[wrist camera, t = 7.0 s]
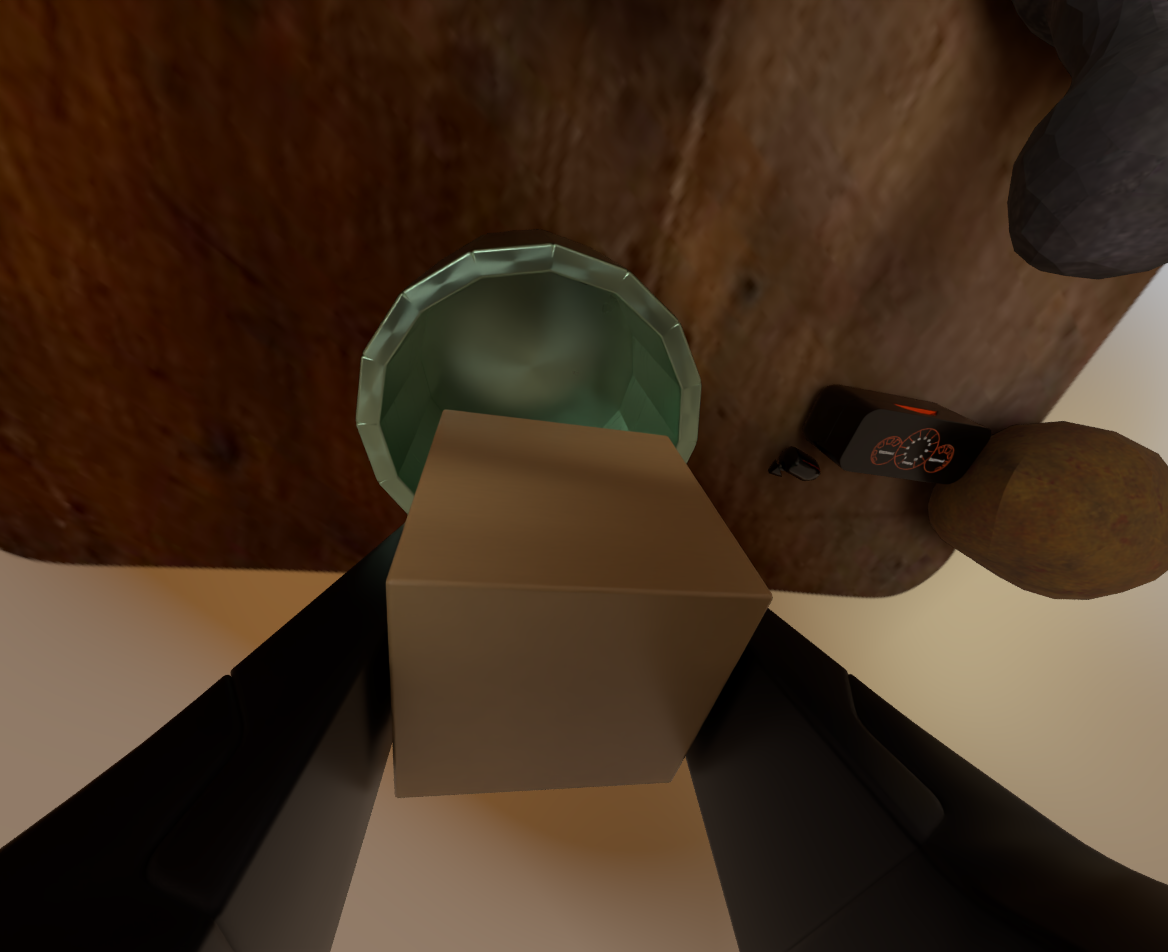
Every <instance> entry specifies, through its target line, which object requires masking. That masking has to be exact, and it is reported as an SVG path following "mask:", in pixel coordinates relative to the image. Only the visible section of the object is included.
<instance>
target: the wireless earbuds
mask: <svg viewBox="0 0 1168 952" xmlns="http://www.w3.org/2000/svg"><path fill="white" fill-rule="evenodd" d="M803 435H804V437H805V438H806V440H808V441H809V442H810V443H811V444H812V445H814V446H815V447H816V448H817V449H819V450H820V451H821V452H822V453H823V454H825V455H826V456H827V457H828V458H830V459H831V460H832V461H833V462H835V463H836V464H837V465H838V466H840V467H841V468H842V469H843V470H846V471H851V472H858V473H865V474H873V475H880V476H887V477H895V478H902V479H909V480H916V481H924V482H931V483H938V484H951V483H954V482H956V481H958V480H959V479H960V478H962V477H963V475H964V474H965V473H966V472H967V470H968V469H969V468H970V466H971V465H972V464H973V462H974V461H975V460H976V458H977V457H978V455H979V454H980V453H981V451H982V450H983V449H984V447H985V446H986V445H987V443H988V442H989V440H990V437H991V431H990V429H989V428H987V427H985V426H983V425H980V424H978V423H976V422H974V421H972V420H970V419H968V418H966V417H964V416H962V415H959V414H957V413H955V412H953V411H951V410H949V409H947V408H945V407H943V406H941V405H938V404H936V403H933V402H929V401H923V400H918V399H913V398H907V397H902V396H897V395H891V394H886V393H881V392H875V391H870V390H865V389H859V388H854V387H849V386H843V385H829V386H827V387H825V388H824V389H823V390H822V391H821V392H820V394H819V396H818V398H817V400H816V402H815V404H814V406H813V408H812V410H811V412H810V414H809V416H808V418H807V420H806V422H805V424H804V426H803ZM781 470H782V471H786V472H788V473H789V474H791V475H793V476H795V477H796V478H798V479H800V480H802V481H810V480H814V479H816V478H817V477H818V476H819V475H820V468H819V465H818V463H817V461H816V460H815V459H814V458H813V457H811V456H810V455H808V454H806V453H804V452H803V451H801V450H799V449H798V448H796V447H793V446H790V447H788V448H786V449H785V450H784V451H783V452H782V453H781V455H780V457H779V464H777V461H776V459H775V460H774V461H773V463H772V464H771V466H770V467H769V469H768V471H769V473H770V474H773V475H776V476H780V477H782V475H781V472H780V471H781Z"/></svg>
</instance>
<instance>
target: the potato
mask: <svg viewBox="0 0 1168 952" xmlns="http://www.w3.org/2000/svg"><path fill="white" fill-rule="evenodd" d="M928 512H929V521H930V524H931V525H932V527H933V528H934V529H935V531H936V532H937V533H938V535H939V536H940V538H941V539H942V540H944V541H945V542H947V543H948V544H949V545H951V546H952V547H954V548H955V549H957V550H958V551H960V552H961V553H963V554H964V555H966V556H967V557H969V558H971V559H972V560H974V561H975V562H976V563H978V564H980V565H981V566H983V567H984V568H986V569H987V570H989V571H991V572H992V573H994V574H995V575H997V576H999V577H1000V578H1002V579H1004V580H1006V581H1008V582H1010V583H1012V584H1014V585H1015V586H1017V587H1019V588H1021V589H1023V590H1026V591H1029V592H1033V593H1036V594H1039V595H1043V596H1046V597H1049V598H1053V599H1078V600H1079V599H1080V600H1089V599H1094V598H1098V597H1103V596H1108V595H1112V594H1117V593H1121V592H1124V591H1127V590H1130V589H1133V588H1135V587H1138V586H1141V585H1143V584H1146V583H1148V582H1151V581H1154V580H1156V579H1157V578H1159V577H1160V576H1161V575H1162V574H1164V573H1165V572H1166V571H1167V570H1168V466H1167V464H1166V463H1165V462H1164V461H1163V459H1162V458H1161V457H1160V455H1159V454H1158V453H1156V452H1154V451H1152V450H1150V449H1148V448H1146V447H1144V446H1142V445H1140V444H1138V443H1136V442H1134V441H1132V440H1130V439H1129V438H1126V437H1125V436H1123V435H1120V434H1119V433H1117V432H1114V431H1109V430H1104V429H1100V428H1095V427H1089V426H1085V425H1080V424H1075V423H1070V422H1066V421H1058V422H1047V423H1035V424H1023V425H1012V426H1010V427H1008V428H1006V429H1004V430H1002V431H1000V432H998V433H996V434H994V435H992V436H991V437H990V440H989V442H988V443H987V445H986V446H985V447H984V449H983V450H982V451H981V453H980V454H979V455H978V457H977V458H976V460H975V461H974V462H973V464H972V465H971V466H970V468H969V469H968V470H967V472H966V473H965V474H964V475H963V477H962V478H960V479H959V480H958V481H956V482H954V483H951V484H938V483H937V484H936V485H935V486H934V488H933V491H932V494H931V497H930V500H929V503H928Z"/></svg>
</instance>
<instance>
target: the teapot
mask: <svg viewBox="0 0 1168 952" xmlns="http://www.w3.org/2000/svg"><path fill="white" fill-rule="evenodd" d="M1012 2H1013V4H1014V7H1015V9H1016V12H1017V14H1018V15H1019V16H1020V18H1021V19H1022V20H1023V22H1024V23H1025V24H1026V26H1027V27H1028V28H1029V30H1030V31H1031V32H1032V33H1033V34H1035V35H1036V36H1038V37H1039V38H1041V39H1042V40H1044V41H1045V42H1047V43H1048V44H1050V45H1051V46H1053V47H1055V48H1056V51H1057V54H1058V57H1059V59H1060V61H1061V62H1062V64H1063V65H1064V66H1065V68H1066V69H1067V71H1068V72H1069V74H1070V75H1071V77H1072V83H1071V86H1070V88H1069V90H1068V92H1067V93H1066V95H1065V96H1064V98H1063V99H1061V100H1060V101H1059V102H1058V103H1057V104H1056V105H1055V107H1054V108H1053V109H1052V110H1051V111H1050V112H1049V113H1048V114H1047V115H1046V116H1045V117H1044V119H1043V120H1042V121H1041V122H1040V123H1039V124H1038V125H1037V126H1036V127H1035V129H1034V130H1033V132H1032V134H1031V135H1030V137H1029V139H1028V141H1027V142H1026V144H1025V146H1024V147H1023V149H1022V151H1021V153H1020V154H1019V156H1018V158H1017V160H1016V161H1015V163H1014V165H1013V171H1012V178H1011V184H1010V190H1009V196H1008V202H1007V203H1008V218H1009V233H1010V237H1011V240H1012V244H1013V248H1014V251H1015V252H1016V253H1017V254H1018V255H1019V256H1020V257H1022V258H1023V259H1024V260H1025V261H1026V262H1027V263H1028V264H1029V265H1031V266H1033V267H1035V268H1036V269H1038V270H1040V271H1044V272H1049V273H1054V274H1059V275H1064V276H1072V277H1081V278H1090V279H1104V278H1110V277H1116V276H1121V275H1127V274H1133V273H1139V272H1145V271H1149V270H1152V269H1154V268H1156V267H1159V266H1161V265H1163V264H1166V263H1168V0H1012Z"/></svg>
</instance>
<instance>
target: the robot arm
mask: <svg viewBox="0 0 1168 952" xmlns="http://www.w3.org/2000/svg"><path fill="white" fill-rule="evenodd" d="M404 525H405V523H404V524H403V525H402V526H401V527H399V528H398V529H397V530H396V531H395V532H394V533H392V534H391V535H390V536H389V537H388V538H386V539H385V540H384V541H383V542H382V543H381V544H379V545H378V546H377V547H376V548H375V549H373V550H372V551H371V552H370V553H369V554H368V555H366V556H365V557H364V558H363V559H362V560H360V561H359V562H358V563H357V564H356V565H355V566H353V567H352V568H351V569H350V570H349V571H348V572H346V573H345V574H344V575H343V576H342V577H340V578H339V579H338V580H337V581H336V582H335V583H333V584H332V585H331V586H330V587H329V588H327V589H326V590H325V591H324V592H323V593H322V594H320V595H319V596H318V597H317V598H316V599H314V600H313V601H312V602H311V603H310V604H309V605H308V606H306V607H305V608H304V609H303V610H301V611H300V612H299V613H298V614H297V615H296V616H294V617H293V618H292V619H291V620H290V621H288V622H287V623H286V624H285V625H284V626H283V627H281V628H280V629H279V630H278V631H277V632H275V633H274V634H273V635H272V636H271V637H270V638H268V639H267V640H266V641H265V642H264V643H262V644H261V645H260V646H259V647H258V648H257V649H255V650H254V651H253V652H252V653H251V654H250V655H248V656H247V657H246V658H245V659H244V660H242V661H241V662H240V663H239V664H238V665H236V666H235V667H234V668H233V669H232V670H231V676H230V675H225V676H223V677H222V678H221V679H220V680H218V681H217V682H216V683H215V684H214V685H212V686H211V687H210V688H209V689H208V690H207V691H205V692H204V693H203V694H202V695H201V696H200V697H198V698H197V699H196V700H195V701H193V702H192V703H191V704H190V705H189V706H187V707H186V708H185V709H184V710H183V711H181V712H180V713H179V714H177V716H175V717H174V718H173V719H171V720H170V721H169V722H168V723H167V724H165V725H164V726H163V727H161V728H160V729H159V730H158V731H157V732H155V733H154V734H153V735H152V736H151V737H149V738H148V739H147V740H146V741H144V742H143V743H142V744H140V745H139V746H138V747H136V748H135V749H134V750H132V751H131V752H130V753H128V754H127V755H126V756H125V757H123V758H122V759H121V760H119V761H118V762H117V763H115V764H114V765H113V766H111V767H110V768H109V769H107V770H106V771H105V772H103V773H102V774H101V775H99V776H98V777H97V778H96V779H94V780H93V781H92V782H90V783H89V784H88V785H86V786H85V787H84V788H82V789H81V790H80V791H78V792H77V793H76V794H74V795H73V796H72V797H70V798H69V799H68V800H66V801H65V802H63V803H62V804H61V805H59V806H58V807H57V808H55V809H54V810H52V811H51V812H50V813H48V814H47V815H46V816H44V817H43V818H42V819H40V820H39V821H38V822H36V823H35V824H34V825H32V826H31V827H29V828H28V829H27V830H25V831H24V832H22V833H21V834H20V835H18V836H17V837H16V838H14V839H13V840H12V841H10V842H9V843H8V844H6V845H5V846H3V847H2V848H1V849H0V952H330V950H331V947H332V944H333V940H334V937H335V933H336V930H337V927H338V923H339V920H340V917H341V913H342V910H343V906H344V903H345V900H346V896H347V893H348V890H349V886H350V883H351V880H352V876H353V873H354V869H355V866H356V863H357V859H358V856H359V852H360V849H361V846H362V843H363V839H364V836H365V833H366V829H367V826H368V822H369V819H370V816H371V812H372V809H373V805H374V802H375V799H376V796H377V792H378V788H379V785H380V782H381V779H382V775H383V772H384V769H385V765H386V762H387V758H388V755H389V752H390V748H391V745H392V718H391V695H390V671H389V648H388V624H387V601H386V579H387V576H388V573H389V570H390V567H391V564H392V561H393V558H394V555H395V552H396V549H397V546H398V543H399V540H400V537H401V534H402V531H403V528H404ZM686 760H687V763H688V767H689V771H690V774H691V778H692V781H693V785H694V789H695V792H696V796H697V800H698V803H699V807H700V810H701V814H702V818H703V821H704V825H705V828H706V832H707V836H708V839H709V843H710V846H711V850H712V854H713V857H714V861H715V865H716V868H717V872H718V875H719V879H720V883H721V886H722V890H723V893H724V897H725V901H726V904H727V908H728V911H729V915H730V919H731V922H732V926H733V930H734V933H735V937H736V940H737V944H738V948H739V951H740V952H1168V885H1167V884H1164V883H1162V882H1159V881H1156V880H1154V879H1152V878H1150V877H1147V876H1145V875H1143V874H1141V873H1138V872H1136V871H1133V870H1131V869H1130V868H1128V867H1126V866H1124V865H1122V864H1120V863H1118V862H1116V861H1114V860H1112V859H1110V858H1108V857H1106V856H1105V855H1103V854H1101V853H1100V852H1098V851H1096V850H1094V849H1093V848H1091V847H1089V846H1088V845H1086V844H1084V843H1083V842H1081V841H1080V840H1078V839H1077V838H1075V837H1074V836H1072V835H1071V834H1069V833H1068V832H1066V831H1065V830H1063V829H1062V828H1060V827H1059V826H1058V825H1056V824H1055V823H1054V822H1052V821H1051V820H1049V819H1048V818H1047V817H1045V816H1044V815H1042V814H1041V813H1039V812H1038V811H1037V810H1035V809H1034V808H1033V807H1031V806H1030V805H1028V804H1027V803H1025V802H1024V801H1022V800H1021V799H1020V798H1018V797H1017V796H1016V795H1014V794H1013V793H1011V792H1010V791H1009V790H1007V789H1006V788H1004V787H1003V786H1001V785H1000V784H999V783H997V782H996V781H995V780H993V779H992V778H990V777H989V776H988V775H986V774H984V773H983V772H982V771H980V770H979V769H977V768H976V767H975V766H973V765H972V764H970V763H969V762H968V761H966V760H965V759H963V758H962V757H961V756H959V755H958V754H956V753H955V752H954V751H952V750H951V749H950V748H948V747H947V746H945V745H944V744H943V743H941V742H940V741H939V740H937V739H936V738H934V737H933V736H932V735H930V734H929V733H927V732H926V731H925V730H923V729H922V728H920V727H919V726H918V725H917V724H915V723H914V722H912V721H911V720H910V719H908V718H907V717H906V716H904V715H903V714H902V713H900V712H899V711H898V710H897V709H895V708H894V707H893V706H892V705H890V704H889V703H888V702H886V701H885V700H884V699H882V698H881V697H880V696H878V695H877V694H876V693H875V692H873V691H872V690H871V689H869V688H868V687H867V686H866V685H865V684H863V683H862V682H861V681H859V680H858V679H857V678H856V677H855V676H853V675H852V674H848V673H847V671H846V670H845V669H844V668H843V667H842V666H841V665H839V664H838V663H837V662H835V661H834V660H833V659H832V658H830V657H829V656H828V655H827V654H825V653H824V652H823V651H822V650H820V649H819V648H818V647H817V646H815V645H814V644H813V643H811V642H810V641H809V640H808V639H806V638H805V637H804V636H803V635H801V634H800V633H799V632H798V631H796V630H795V629H794V628H793V627H791V626H790V625H789V624H788V623H786V622H785V621H784V620H782V619H781V618H780V617H779V616H777V615H776V614H775V613H774V612H772V611H771V610H770V609H769V608H767V610H766V612H765V614H764V615H763V617H762V619H761V621H760V623H759V624H758V626H757V628H756V630H755V632H754V633H753V635H752V637H751V639H750V641H749V642H748V644H747V646H746V648H745V650H744V651H743V653H742V655H741V657H740V659H739V660H738V662H737V664H736V666H735V668H734V669H733V671H732V673H731V675H730V677H729V678H728V680H727V682H726V684H725V686H724V687H723V689H722V691H721V693H720V695H719V696H718V698H717V700H716V702H715V704H714V705H713V707H712V709H711V711H710V713H709V714H708V716H707V718H706V720H705V722H704V723H703V725H702V727H701V729H700V731H699V732H698V734H697V736H696V738H695V740H694V741H693V743H692V745H691V747H690V749H689V750H688V752H687V754H686Z"/></svg>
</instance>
